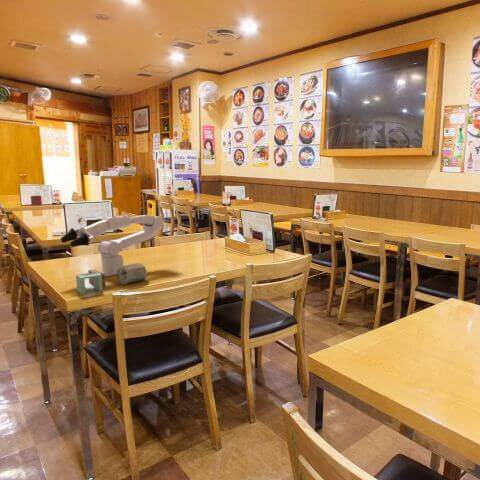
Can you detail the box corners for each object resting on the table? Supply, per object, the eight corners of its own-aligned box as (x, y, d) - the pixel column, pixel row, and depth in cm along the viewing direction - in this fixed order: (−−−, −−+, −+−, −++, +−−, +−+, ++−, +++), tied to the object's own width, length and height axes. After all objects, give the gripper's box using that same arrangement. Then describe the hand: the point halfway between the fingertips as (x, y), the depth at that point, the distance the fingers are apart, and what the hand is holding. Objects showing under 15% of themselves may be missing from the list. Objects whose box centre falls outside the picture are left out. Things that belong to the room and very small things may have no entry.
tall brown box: (96, 279, 185) (95, 269, 184) (105, 286, 175) (104, 274, 174) (89, 280, 183) (88, 270, 183) (97, 287, 173) (97, 275, 172)
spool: (122, 280, 170) (121, 258, 173) (112, 286, 176) (112, 265, 180) (151, 282, 179) (150, 261, 182) (141, 288, 185) (140, 267, 189)
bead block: (97, 287, 172) (96, 271, 171) (102, 290, 167) (101, 274, 166) (77, 291, 167) (75, 275, 166) (81, 294, 162) (80, 277, 161)
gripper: (82, 219, 188) (55, 230, 179) (100, 226, 180) (72, 238, 171) (86, 232, 192) (59, 244, 183) (104, 240, 183) (77, 253, 174)
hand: (66, 242), depth 177 cm, fingers open, 7 cm apart
